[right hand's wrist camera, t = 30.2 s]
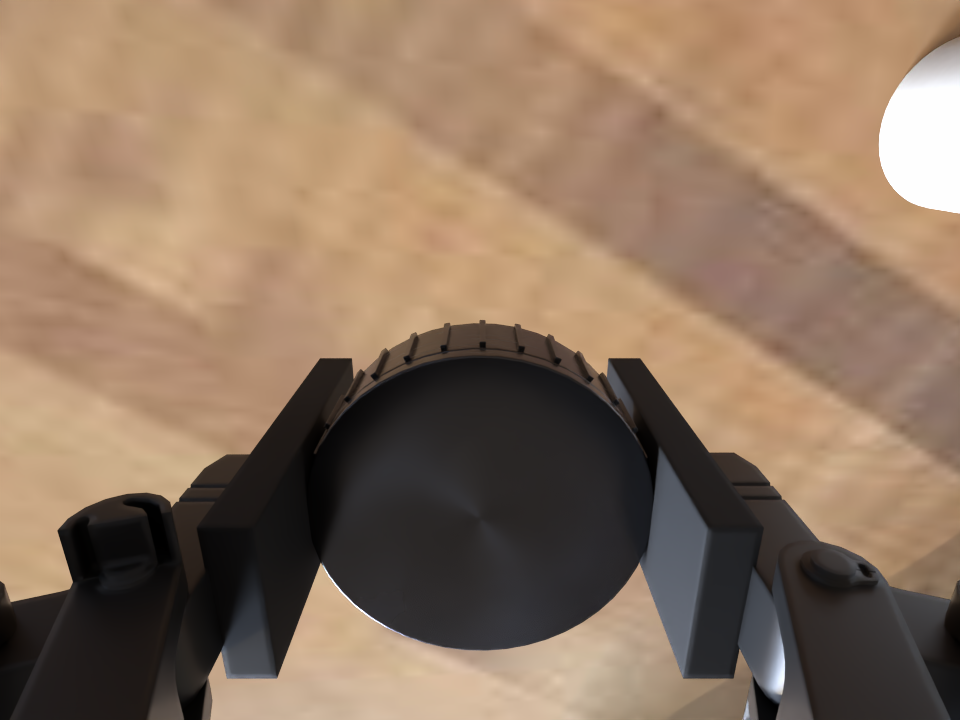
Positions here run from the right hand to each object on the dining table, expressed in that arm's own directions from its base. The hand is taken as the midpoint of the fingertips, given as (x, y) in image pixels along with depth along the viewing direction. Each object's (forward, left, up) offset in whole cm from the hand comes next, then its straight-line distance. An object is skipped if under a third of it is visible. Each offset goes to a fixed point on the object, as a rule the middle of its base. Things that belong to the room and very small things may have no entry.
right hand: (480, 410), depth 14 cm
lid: (0, 0, +4) cm, 4 cm away
